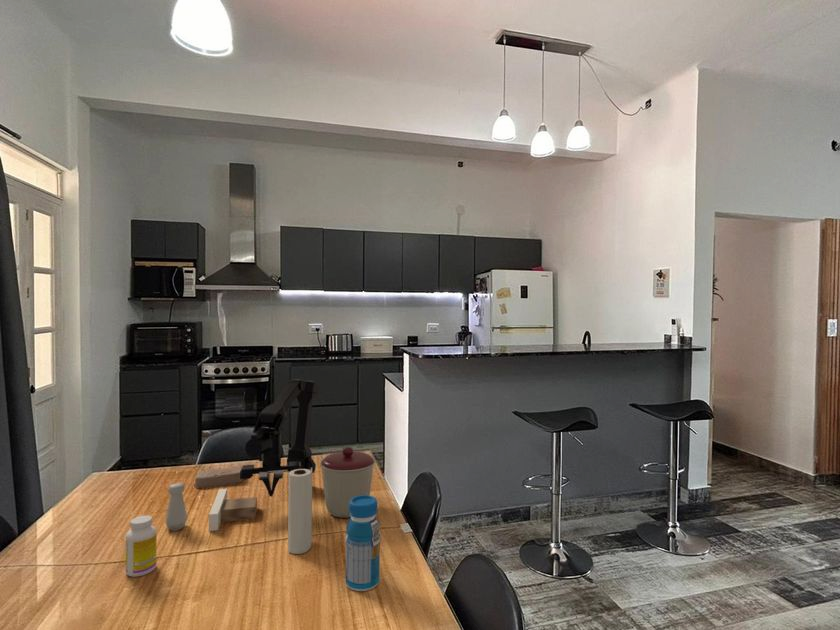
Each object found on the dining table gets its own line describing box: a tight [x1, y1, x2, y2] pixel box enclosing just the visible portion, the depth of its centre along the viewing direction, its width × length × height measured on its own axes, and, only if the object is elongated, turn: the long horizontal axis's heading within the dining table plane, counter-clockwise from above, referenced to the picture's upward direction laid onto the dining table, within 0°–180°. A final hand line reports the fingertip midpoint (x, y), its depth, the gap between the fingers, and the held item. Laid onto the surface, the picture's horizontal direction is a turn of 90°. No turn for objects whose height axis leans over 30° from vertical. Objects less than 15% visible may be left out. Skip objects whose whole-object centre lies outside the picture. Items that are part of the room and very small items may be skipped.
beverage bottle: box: [344, 495, 382, 592], centre depth 112 cm, size 8×8×20 cm
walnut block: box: [221, 496, 258, 523], centre depth 148 cm, size 10×8×4 cm
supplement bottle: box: [125, 515, 157, 578], centre depth 116 cm, size 7×7×13 cm
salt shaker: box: [164, 482, 188, 532], centre depth 139 cm, size 6×6×13 cm
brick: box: [194, 465, 244, 489], centre depth 177 cm, size 17×8×5 cm, turn 111°
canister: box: [319, 446, 376, 519], centre depth 152 cm, size 18×18×21 cm
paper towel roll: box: [287, 468, 313, 555], centre depth 128 cm, size 7×6×21 cm
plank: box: [208, 488, 228, 532], centre depth 147 cm, size 2×20×5 cm, turn 16°
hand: (271, 496), depth 151 cm, fingers closed
